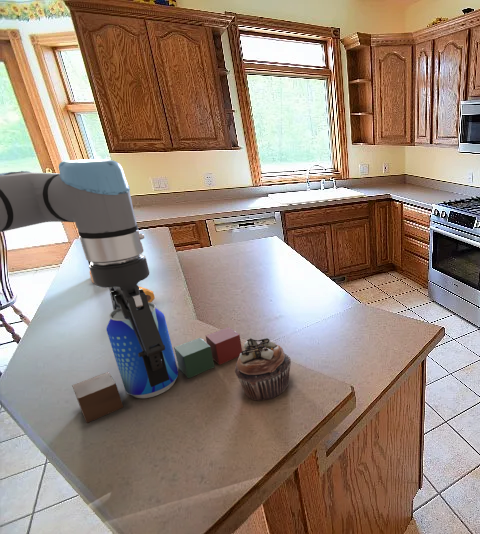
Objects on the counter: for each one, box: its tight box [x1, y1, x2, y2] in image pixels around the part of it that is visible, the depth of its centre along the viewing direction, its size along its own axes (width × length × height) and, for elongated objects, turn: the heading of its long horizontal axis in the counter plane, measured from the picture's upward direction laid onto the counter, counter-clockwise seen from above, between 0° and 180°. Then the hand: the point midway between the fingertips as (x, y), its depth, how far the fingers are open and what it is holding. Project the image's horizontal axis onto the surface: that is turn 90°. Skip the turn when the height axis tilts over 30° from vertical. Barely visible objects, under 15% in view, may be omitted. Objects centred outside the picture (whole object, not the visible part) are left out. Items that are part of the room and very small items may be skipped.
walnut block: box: [71, 371, 124, 424], centre depth 61 cm, size 5×5×5 cm
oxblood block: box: [205, 326, 243, 366], centre depth 76 cm, size 5×5×5 cm
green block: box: [173, 337, 215, 379], centre depth 72 cm, size 5×5×5 cm
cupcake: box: [234, 337, 292, 402], centre depth 66 cm, size 10×10×10 cm
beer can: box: [105, 302, 179, 399], centre depth 65 cm, size 8×8×16 cm
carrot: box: [138, 285, 155, 303], centre depth 105 cm, size 20×4×4 cm, turn 47°
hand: (147, 366), depth 66 cm, fingers open, 13 cm apart
